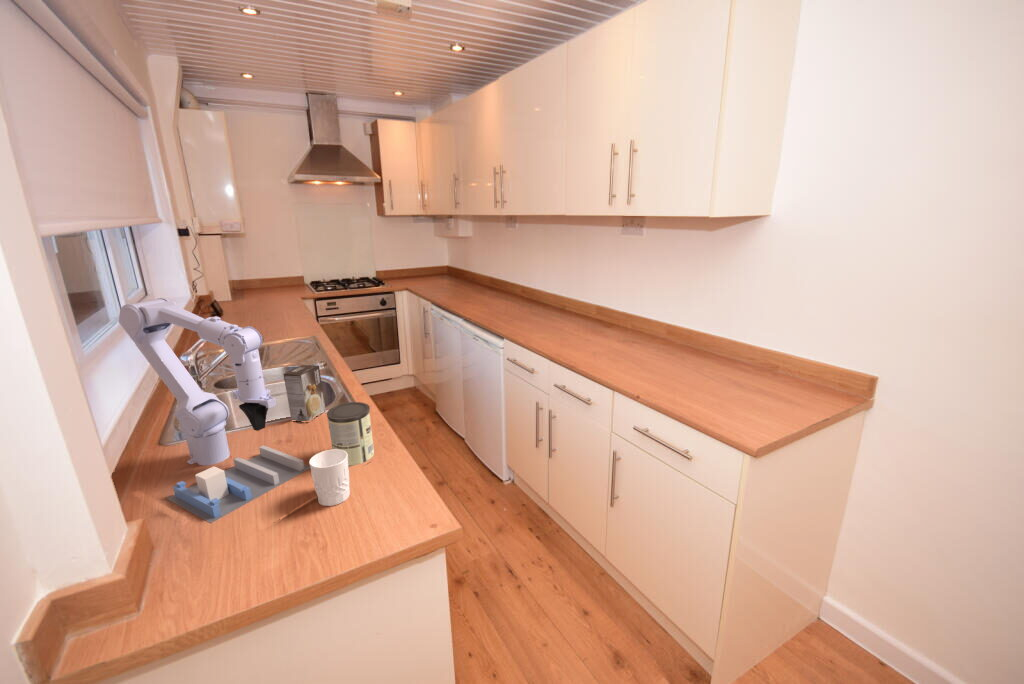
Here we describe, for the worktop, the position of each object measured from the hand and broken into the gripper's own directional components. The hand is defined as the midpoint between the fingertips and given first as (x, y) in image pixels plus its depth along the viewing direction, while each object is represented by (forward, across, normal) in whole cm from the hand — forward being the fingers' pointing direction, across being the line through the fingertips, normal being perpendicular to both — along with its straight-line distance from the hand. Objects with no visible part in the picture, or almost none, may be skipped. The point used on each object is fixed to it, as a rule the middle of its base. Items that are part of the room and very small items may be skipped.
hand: (259, 428), depth 111 cm
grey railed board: (+10, -4, +8) cm, 14 cm away
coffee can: (+11, -18, -13) cm, 24 cm away
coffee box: (+11, +16, -25) cm, 32 cm away
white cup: (+11, -27, +1) cm, 29 cm away
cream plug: (+9, -4, +14) cm, 18 cm away
